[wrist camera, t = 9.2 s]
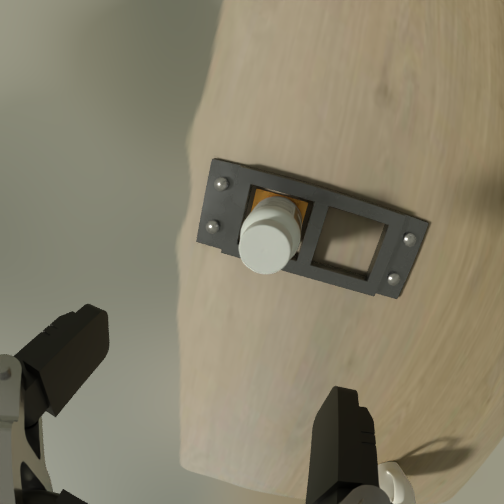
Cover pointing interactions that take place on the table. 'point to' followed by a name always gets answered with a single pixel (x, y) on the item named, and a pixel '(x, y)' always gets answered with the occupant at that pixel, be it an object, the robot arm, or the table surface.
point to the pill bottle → (270, 235)
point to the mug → (395, 483)
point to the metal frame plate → (309, 226)
